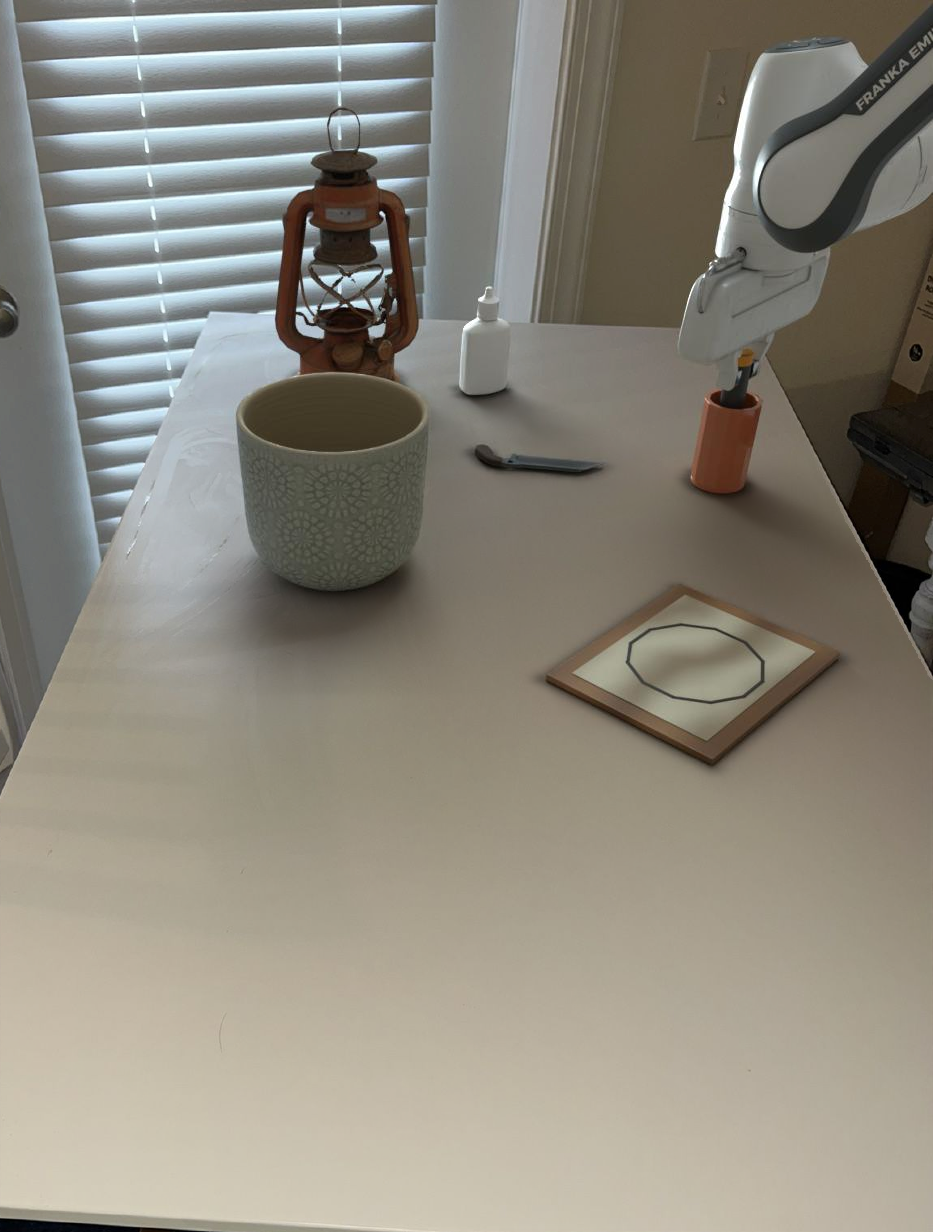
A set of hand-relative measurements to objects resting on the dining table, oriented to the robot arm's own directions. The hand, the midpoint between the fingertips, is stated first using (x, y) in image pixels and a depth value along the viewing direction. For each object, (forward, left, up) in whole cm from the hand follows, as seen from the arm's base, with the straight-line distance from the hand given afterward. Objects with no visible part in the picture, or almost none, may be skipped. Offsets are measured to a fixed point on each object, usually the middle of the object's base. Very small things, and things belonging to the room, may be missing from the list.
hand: (737, 381), depth 124 cm
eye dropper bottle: (+33, -1, -11) cm, 35 cm away
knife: (+16, +10, -11) cm, 22 cm away
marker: (0, 0, -10) cm, 10 cm away
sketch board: (-17, +31, -11) cm, 37 cm away
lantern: (+46, +9, -11) cm, 48 cm away
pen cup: (0, 0, -11) cm, 11 cm away
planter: (+17, +40, -11) cm, 45 cm away
